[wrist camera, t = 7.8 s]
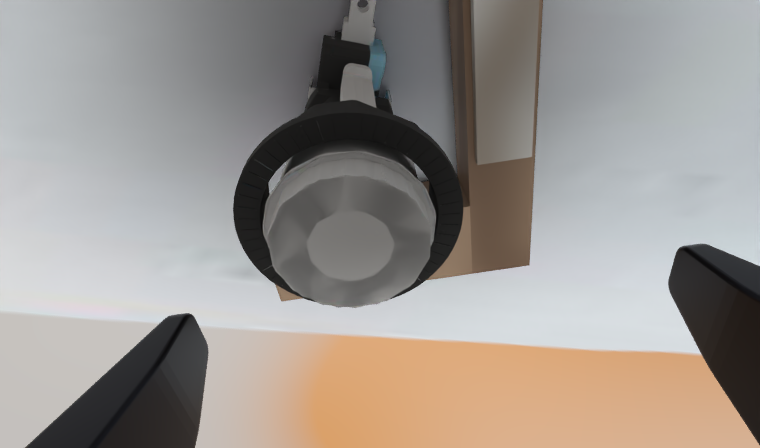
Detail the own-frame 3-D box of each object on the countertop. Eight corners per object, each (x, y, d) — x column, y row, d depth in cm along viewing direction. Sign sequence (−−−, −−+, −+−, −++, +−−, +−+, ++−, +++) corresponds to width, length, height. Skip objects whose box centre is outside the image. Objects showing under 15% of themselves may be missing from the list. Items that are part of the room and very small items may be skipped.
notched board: (524, -260, 13) (564, -296, 11) (512, 232, 23) (532, 270, 20) (140, -193, 14) (96, -214, 11) (286, 265, 23) (280, 307, 21)
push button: (289, -34, 16) (229, 32, 8) (440, -1, 17) (533, 89, 9) (273, 146, 20) (221, 322, 11) (399, 165, 20) (436, 343, 12)
